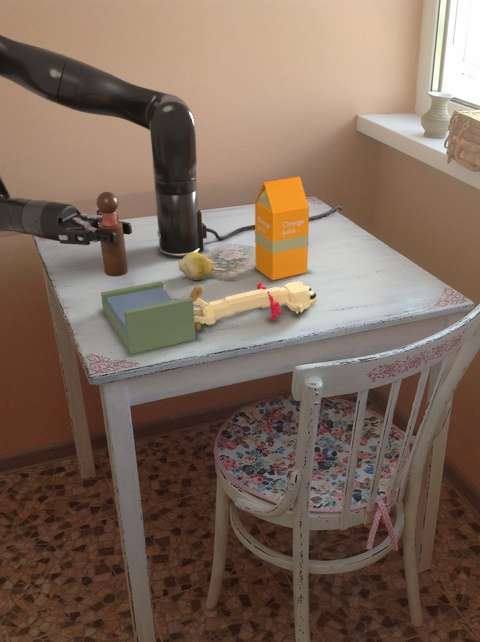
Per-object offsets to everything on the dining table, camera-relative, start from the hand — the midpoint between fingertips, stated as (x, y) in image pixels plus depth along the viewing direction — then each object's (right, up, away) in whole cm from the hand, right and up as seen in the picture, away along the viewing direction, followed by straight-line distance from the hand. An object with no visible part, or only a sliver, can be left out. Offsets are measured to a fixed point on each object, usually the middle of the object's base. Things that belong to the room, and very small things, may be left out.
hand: (122, 233), depth 135 cm
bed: (+6, -18, -4) cm, 19 cm away
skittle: (-3, -7, +5) cm, 9 cm away
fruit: (+13, -6, +15) cm, 21 cm away
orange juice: (+30, -4, +18) cm, 36 cm away
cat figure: (+26, -16, 0) cm, 30 cm away
